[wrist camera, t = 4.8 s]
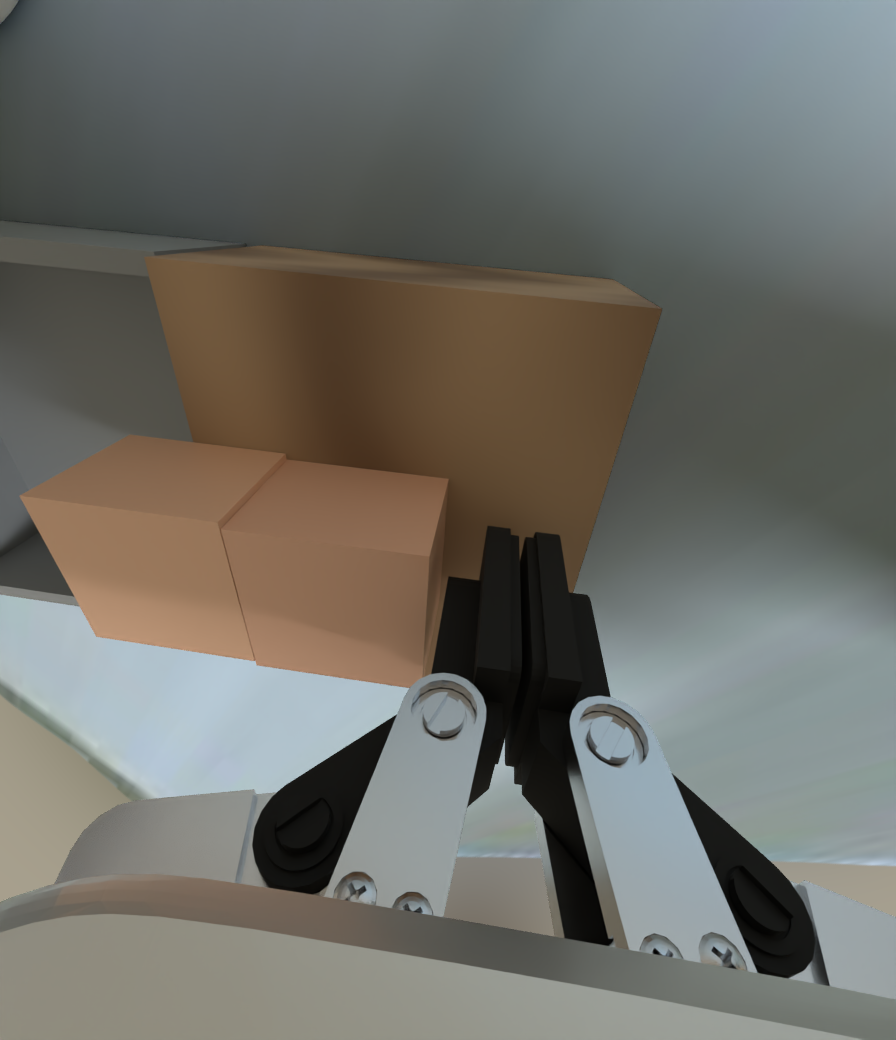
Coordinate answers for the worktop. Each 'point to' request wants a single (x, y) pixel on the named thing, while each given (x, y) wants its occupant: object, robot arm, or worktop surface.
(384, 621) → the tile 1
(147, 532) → the light orange block
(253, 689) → the worktop surface
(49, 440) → the tray
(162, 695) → the worktop surface
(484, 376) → the brown slab
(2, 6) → the bath foam
